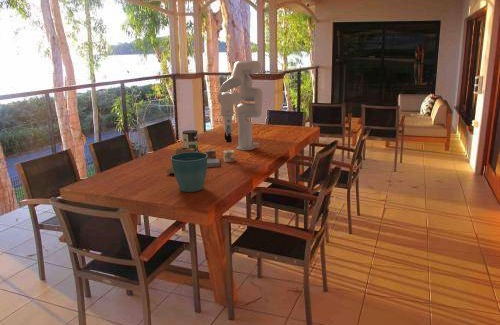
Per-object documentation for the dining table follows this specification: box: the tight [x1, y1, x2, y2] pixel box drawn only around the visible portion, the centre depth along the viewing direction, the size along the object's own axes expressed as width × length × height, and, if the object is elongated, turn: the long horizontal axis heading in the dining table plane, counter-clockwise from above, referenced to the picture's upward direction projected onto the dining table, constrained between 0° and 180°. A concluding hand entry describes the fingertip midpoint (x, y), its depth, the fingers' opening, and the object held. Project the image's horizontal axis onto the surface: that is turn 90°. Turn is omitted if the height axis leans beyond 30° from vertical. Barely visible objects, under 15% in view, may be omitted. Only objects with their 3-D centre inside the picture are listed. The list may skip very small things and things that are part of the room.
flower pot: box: [170, 151, 208, 193], centre depth 219 cm, size 18×18×17 cm
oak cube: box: [223, 149, 235, 163], centre depth 275 cm, size 6×6×6 cm
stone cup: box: [166, 146, 194, 175], centre depth 248 cm, size 15×12×15 cm
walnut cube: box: [205, 148, 217, 159], centre depth 279 cm, size 6×6×6 cm
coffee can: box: [182, 129, 199, 152], centre depth 302 cm, size 10×10×14 cm
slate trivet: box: [207, 157, 221, 168], centre depth 266 cm, size 10×10×2 cm
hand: (228, 141), depth 272 cm, fingers open, 9 cm apart
